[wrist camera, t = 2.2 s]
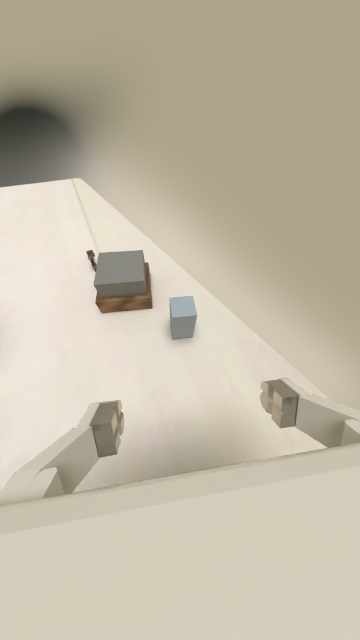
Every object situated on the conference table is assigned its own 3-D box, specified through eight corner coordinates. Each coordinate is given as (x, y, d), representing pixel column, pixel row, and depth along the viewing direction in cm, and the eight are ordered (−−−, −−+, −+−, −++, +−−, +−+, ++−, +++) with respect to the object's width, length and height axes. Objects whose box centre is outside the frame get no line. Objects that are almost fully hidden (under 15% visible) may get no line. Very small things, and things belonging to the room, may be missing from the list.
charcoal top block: (101, 298, 38) (93, 284, 34) (105, 268, 43) (98, 252, 39) (146, 294, 39) (143, 280, 35) (145, 265, 44) (142, 250, 40)
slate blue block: (172, 339, 38) (172, 317, 30) (170, 322, 40) (169, 297, 32) (192, 337, 38) (197, 315, 30) (188, 320, 40) (192, 295, 33)
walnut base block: (102, 314, 41) (95, 302, 37) (106, 278, 47) (100, 265, 44) (152, 309, 42) (150, 297, 39) (150, 275, 49) (148, 262, 45)
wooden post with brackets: (93, 272, 47) (85, 256, 44) (92, 265, 53) (85, 250, 50) (99, 270, 47) (92, 254, 44) (98, 264, 53) (91, 249, 50)
